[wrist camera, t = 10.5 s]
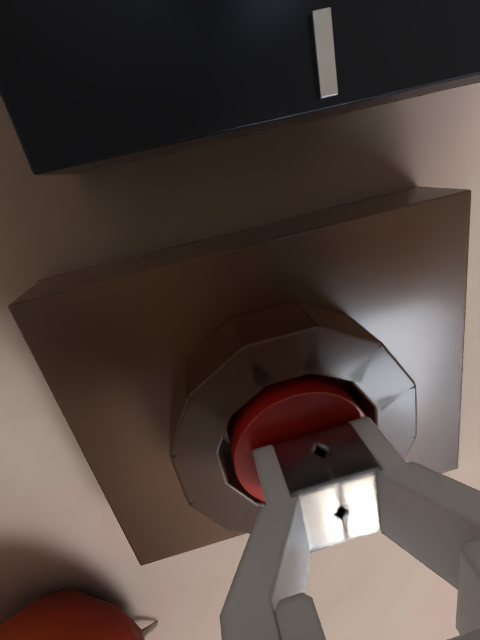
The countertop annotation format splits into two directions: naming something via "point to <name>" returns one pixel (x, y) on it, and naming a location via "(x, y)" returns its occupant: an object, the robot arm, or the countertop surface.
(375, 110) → the countertop surface
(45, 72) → the dial panel
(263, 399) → the red button
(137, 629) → the fruit
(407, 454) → the button box
